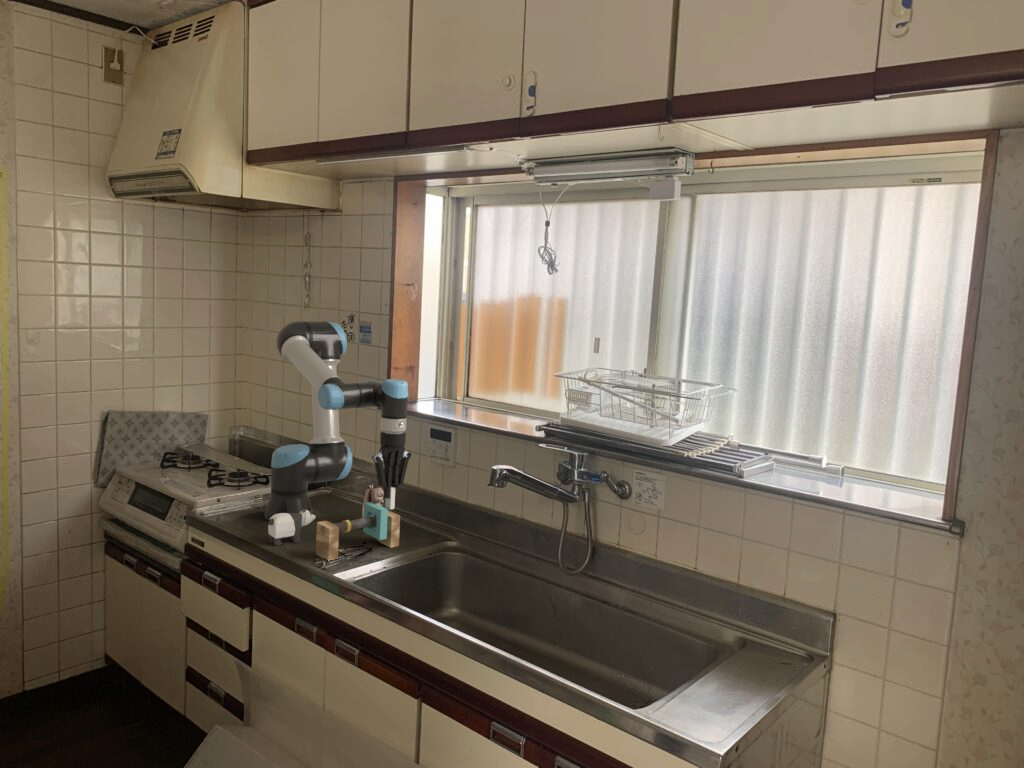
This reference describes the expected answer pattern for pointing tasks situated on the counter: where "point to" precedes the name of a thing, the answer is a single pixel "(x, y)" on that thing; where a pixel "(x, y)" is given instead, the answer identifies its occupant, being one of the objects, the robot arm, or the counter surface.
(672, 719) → the counter surface
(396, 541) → the pipe stand
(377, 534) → the collar
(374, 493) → the toy
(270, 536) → the giant panda
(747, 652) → the counter surface
